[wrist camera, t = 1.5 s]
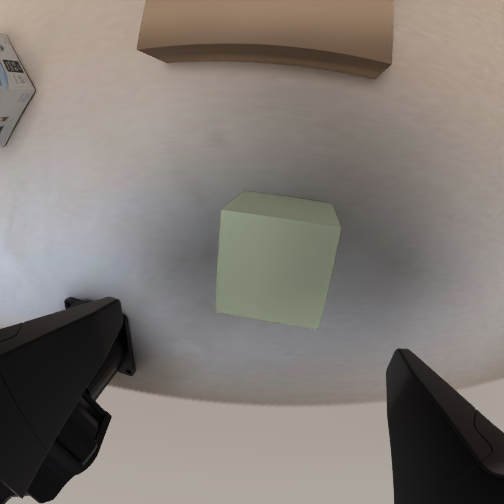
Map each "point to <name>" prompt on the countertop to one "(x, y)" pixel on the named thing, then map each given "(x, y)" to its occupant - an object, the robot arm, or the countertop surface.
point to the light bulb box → (11, 89)
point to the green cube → (276, 258)
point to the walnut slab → (272, 32)
